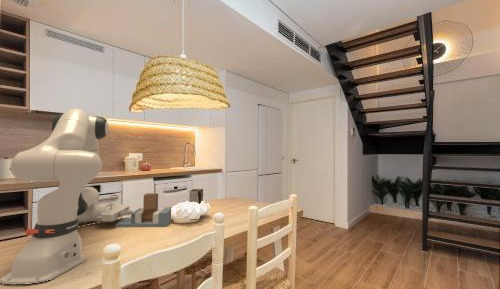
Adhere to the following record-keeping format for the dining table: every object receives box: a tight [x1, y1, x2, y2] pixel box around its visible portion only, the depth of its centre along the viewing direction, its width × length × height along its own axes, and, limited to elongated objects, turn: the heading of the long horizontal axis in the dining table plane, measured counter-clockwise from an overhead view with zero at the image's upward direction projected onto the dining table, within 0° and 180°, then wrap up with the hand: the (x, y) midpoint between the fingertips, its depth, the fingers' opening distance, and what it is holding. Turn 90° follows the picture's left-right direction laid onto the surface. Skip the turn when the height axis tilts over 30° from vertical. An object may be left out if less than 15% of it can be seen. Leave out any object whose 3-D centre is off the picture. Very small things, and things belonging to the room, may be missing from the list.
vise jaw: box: [130, 207, 143, 223], centre depth 132 cm, size 11×5×5 cm, turn 4°
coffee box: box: [188, 188, 204, 204], centre depth 145 cm, size 9×6×16 cm
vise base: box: [115, 206, 173, 228], centre depth 132 cm, size 13×25×7 cm, turn 94°
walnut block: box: [142, 192, 159, 222], centre depth 133 cm, size 5×6×14 cm
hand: (131, 212), depth 132 cm, fingers closed
